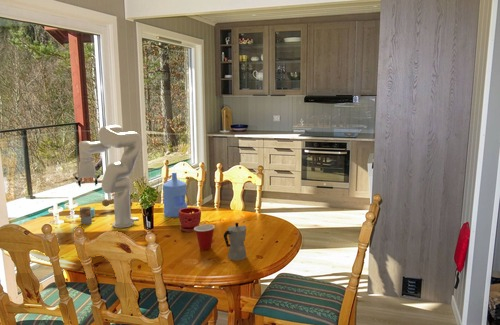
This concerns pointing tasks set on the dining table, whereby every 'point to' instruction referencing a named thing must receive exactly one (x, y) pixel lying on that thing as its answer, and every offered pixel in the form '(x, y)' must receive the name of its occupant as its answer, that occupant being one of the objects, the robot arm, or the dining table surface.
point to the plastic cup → (204, 236)
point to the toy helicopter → (112, 201)
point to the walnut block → (85, 212)
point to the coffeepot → (236, 242)
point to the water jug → (174, 196)
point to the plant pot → (189, 219)
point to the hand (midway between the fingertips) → (88, 185)
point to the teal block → (93, 212)
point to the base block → (86, 220)
